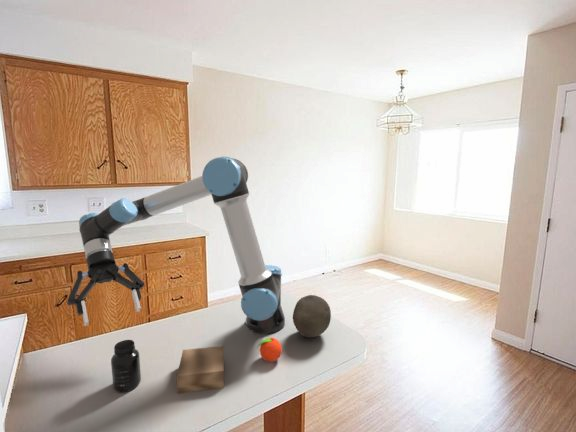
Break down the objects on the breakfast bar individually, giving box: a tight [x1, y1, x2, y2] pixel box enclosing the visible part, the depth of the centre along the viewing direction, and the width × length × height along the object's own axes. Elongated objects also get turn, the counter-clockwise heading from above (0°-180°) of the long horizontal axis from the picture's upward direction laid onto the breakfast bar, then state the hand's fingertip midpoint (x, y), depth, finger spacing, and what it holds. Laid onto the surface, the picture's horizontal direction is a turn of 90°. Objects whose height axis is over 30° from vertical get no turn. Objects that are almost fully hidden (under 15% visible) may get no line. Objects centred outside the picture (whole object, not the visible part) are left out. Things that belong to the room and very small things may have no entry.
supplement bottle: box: [110, 339, 142, 393], centre depth 82 cm, size 7×7×12 cm
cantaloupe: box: [292, 294, 332, 338], centre depth 108 cm, size 14×14×15 cm
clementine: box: [257, 337, 283, 363], centre depth 95 cm, size 8×7×7 cm
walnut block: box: [176, 345, 225, 394], centre depth 87 cm, size 12×12×5 cm
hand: (114, 316), depth 89 cm, fingers open, 13 cm apart
